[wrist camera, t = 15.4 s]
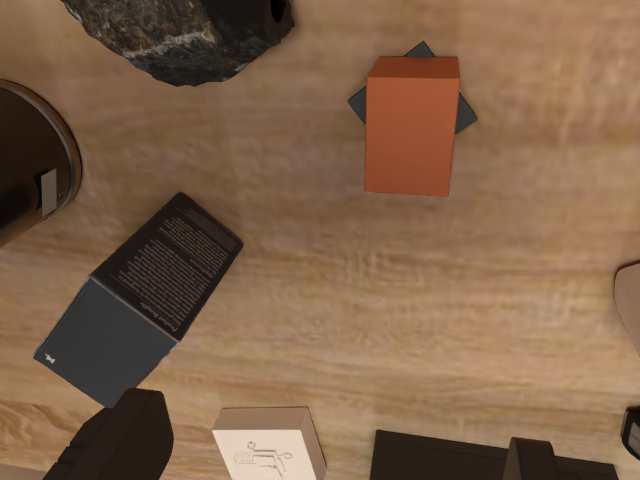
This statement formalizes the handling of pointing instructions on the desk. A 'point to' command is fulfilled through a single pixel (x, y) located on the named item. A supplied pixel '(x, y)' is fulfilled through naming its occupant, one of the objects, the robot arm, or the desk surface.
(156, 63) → the rock
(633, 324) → the eye dropper bottle
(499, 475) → the bin
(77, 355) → the box
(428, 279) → the desk surface
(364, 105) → the mat
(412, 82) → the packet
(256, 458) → the box
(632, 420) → the electric trimmer
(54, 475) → the robot arm
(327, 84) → the desk surface
